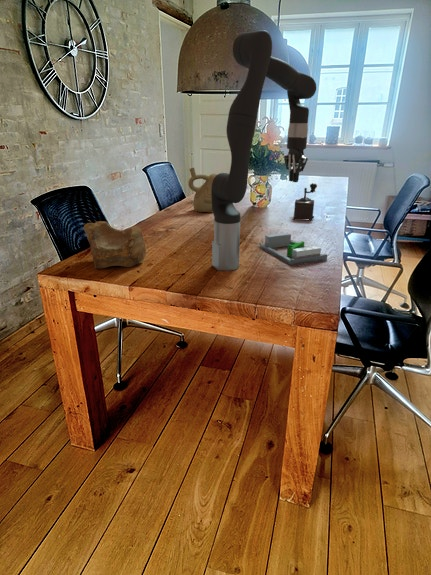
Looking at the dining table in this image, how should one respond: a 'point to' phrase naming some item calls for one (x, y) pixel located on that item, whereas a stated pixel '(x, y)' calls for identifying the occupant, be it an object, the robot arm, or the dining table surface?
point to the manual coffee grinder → (305, 205)
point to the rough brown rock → (115, 245)
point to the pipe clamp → (294, 247)
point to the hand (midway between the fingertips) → (293, 181)
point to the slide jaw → (278, 240)
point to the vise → (299, 255)
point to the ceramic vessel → (202, 192)
